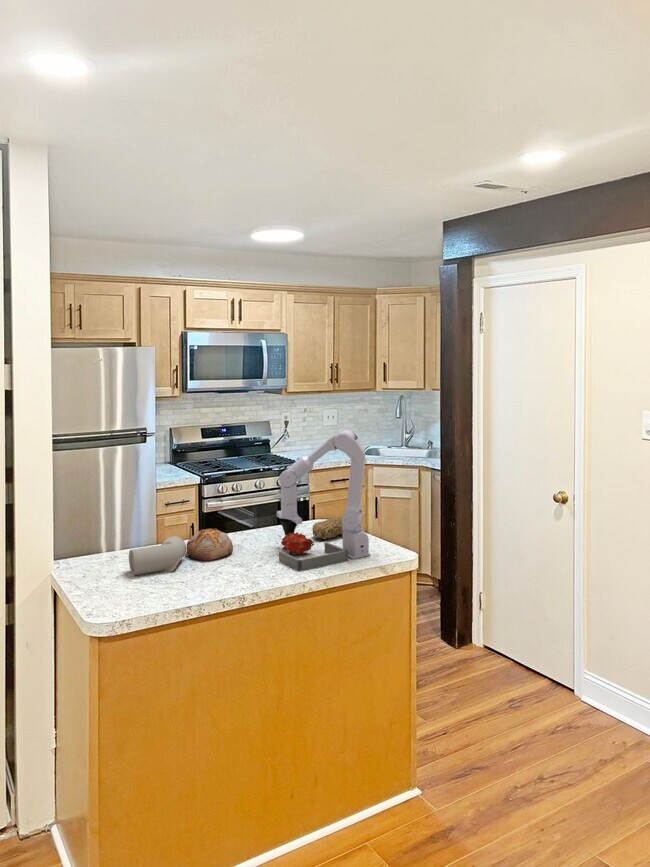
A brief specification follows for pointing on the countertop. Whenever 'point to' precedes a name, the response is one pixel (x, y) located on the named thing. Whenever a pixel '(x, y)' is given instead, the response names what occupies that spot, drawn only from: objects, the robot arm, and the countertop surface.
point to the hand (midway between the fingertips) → (289, 539)
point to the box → (315, 558)
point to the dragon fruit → (296, 543)
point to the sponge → (328, 528)
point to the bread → (209, 545)
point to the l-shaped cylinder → (157, 557)
